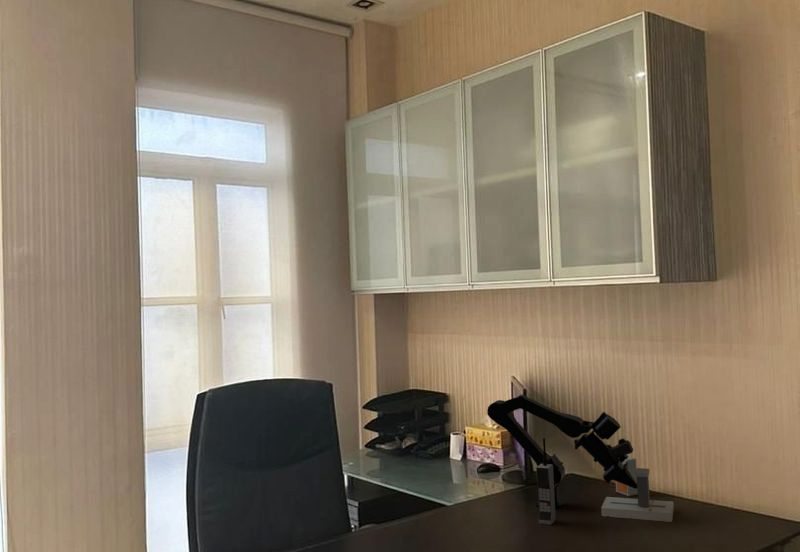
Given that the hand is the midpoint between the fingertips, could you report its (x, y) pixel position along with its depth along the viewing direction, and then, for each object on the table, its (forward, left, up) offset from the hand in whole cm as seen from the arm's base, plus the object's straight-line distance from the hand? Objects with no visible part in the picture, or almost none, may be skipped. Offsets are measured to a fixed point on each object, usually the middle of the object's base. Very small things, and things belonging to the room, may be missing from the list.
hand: (637, 487), depth 216 cm
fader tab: (+1, -2, -5) cm, 5 cm away
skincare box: (+17, +12, -8) cm, 23 cm away
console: (0, 0, -8) cm, 8 cm away
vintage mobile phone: (-24, +17, -8) cm, 30 cm away
